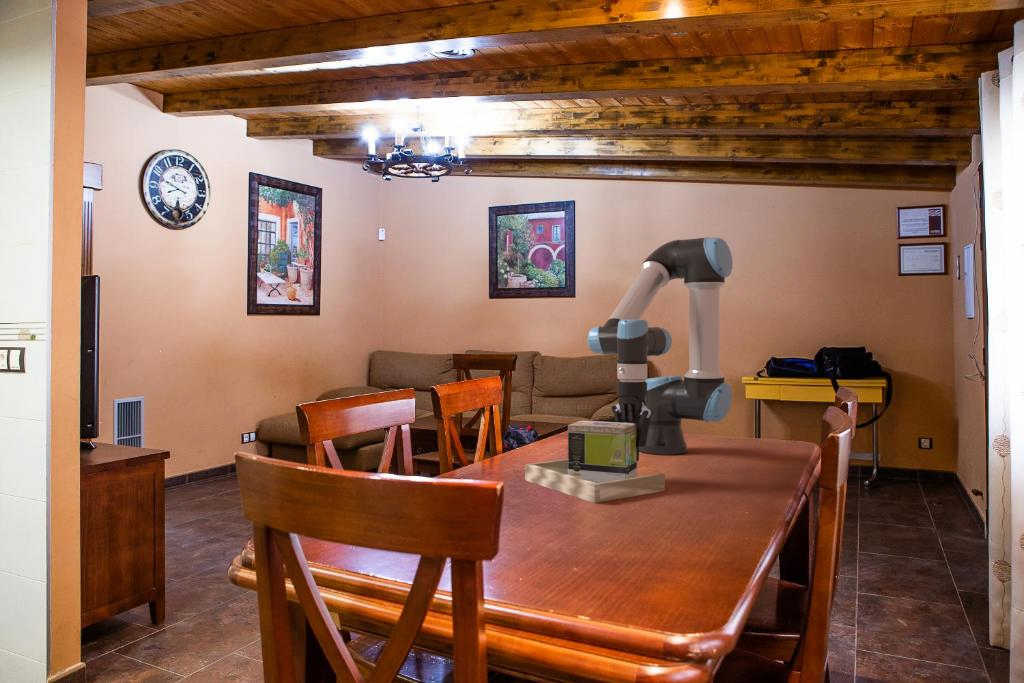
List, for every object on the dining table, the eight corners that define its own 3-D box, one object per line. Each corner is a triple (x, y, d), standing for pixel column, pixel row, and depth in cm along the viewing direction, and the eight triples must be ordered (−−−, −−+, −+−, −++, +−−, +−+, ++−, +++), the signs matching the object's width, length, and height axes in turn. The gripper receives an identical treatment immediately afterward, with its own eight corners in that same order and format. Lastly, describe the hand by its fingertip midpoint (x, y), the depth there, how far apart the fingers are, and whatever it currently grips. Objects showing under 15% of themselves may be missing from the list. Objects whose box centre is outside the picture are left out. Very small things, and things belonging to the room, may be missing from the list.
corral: (524, 480, 180) (525, 464, 179) (591, 470, 191) (591, 455, 191) (594, 503, 157) (594, 484, 157) (664, 490, 169) (664, 473, 169)
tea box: (637, 481, 179) (637, 422, 178) (625, 489, 170) (626, 427, 169) (580, 475, 185) (581, 418, 185) (566, 483, 176) (566, 423, 176)
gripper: (603, 379, 184) (603, 470, 184) (639, 382, 173) (638, 479, 174) (625, 378, 188) (624, 467, 189) (661, 381, 177) (660, 476, 178)
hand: (631, 473), depth 181 cm, fingers closed
